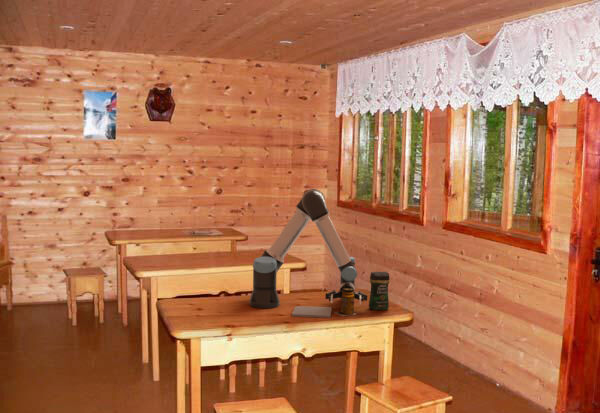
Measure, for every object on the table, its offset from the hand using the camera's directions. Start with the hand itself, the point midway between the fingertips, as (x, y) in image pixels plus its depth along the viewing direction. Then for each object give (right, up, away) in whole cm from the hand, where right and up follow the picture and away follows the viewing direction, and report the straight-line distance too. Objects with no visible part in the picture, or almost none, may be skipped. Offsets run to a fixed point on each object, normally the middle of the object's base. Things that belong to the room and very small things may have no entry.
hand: (345, 300), depth 307 cm
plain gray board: (-16, -6, +4) cm, 18 cm away
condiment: (0, -7, +4) cm, 8 cm away
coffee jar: (+17, -6, +14) cm, 23 cm away
